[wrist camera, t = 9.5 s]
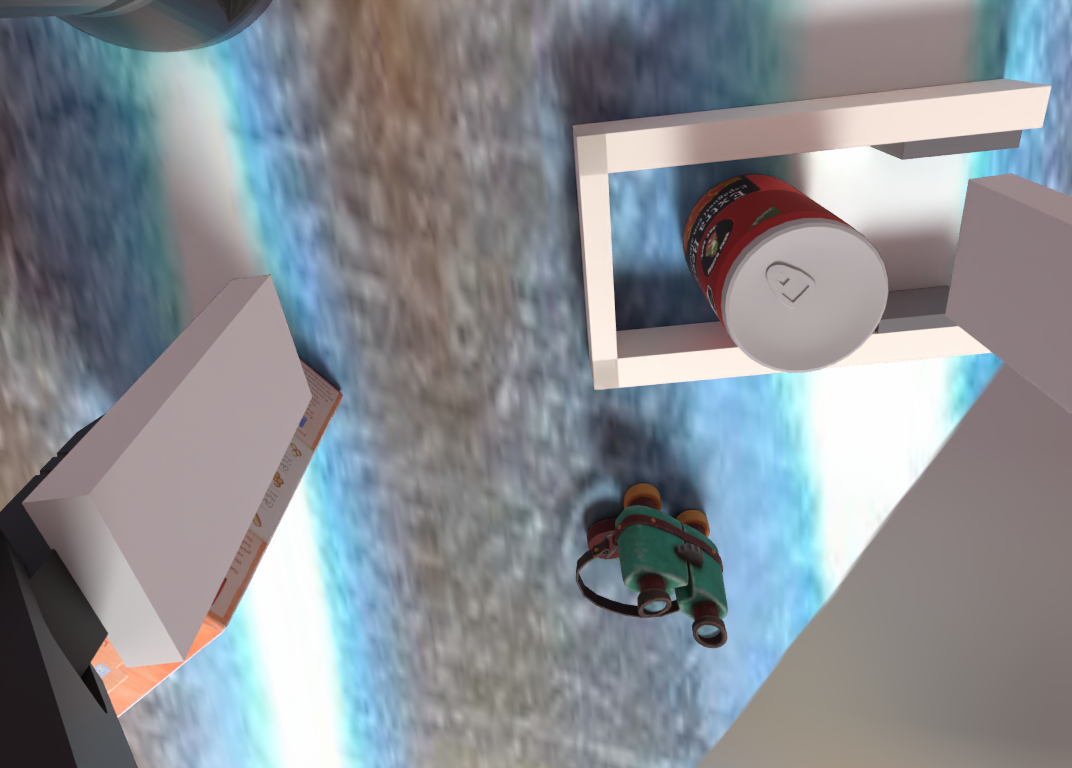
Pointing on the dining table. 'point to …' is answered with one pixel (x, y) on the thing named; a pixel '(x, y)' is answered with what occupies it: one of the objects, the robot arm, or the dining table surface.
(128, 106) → the dining table surface
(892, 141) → the white rectangular tray
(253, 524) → the cracker box
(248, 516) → the robot arm
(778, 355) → the canned food
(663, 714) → the dining table surface
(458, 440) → the dining table surface
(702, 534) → the binoculars
